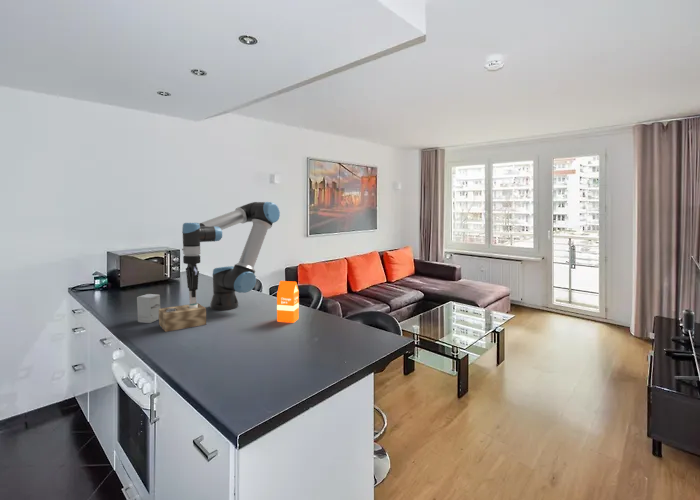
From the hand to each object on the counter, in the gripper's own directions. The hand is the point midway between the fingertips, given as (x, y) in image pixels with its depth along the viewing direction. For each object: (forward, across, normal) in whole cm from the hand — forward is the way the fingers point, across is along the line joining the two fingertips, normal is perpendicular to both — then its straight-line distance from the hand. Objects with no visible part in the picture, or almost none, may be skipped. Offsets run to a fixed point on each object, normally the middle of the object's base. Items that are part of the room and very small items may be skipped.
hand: (192, 303), depth 177 cm
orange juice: (+10, +23, +39) cm, 46 cm away
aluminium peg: (+10, 0, -10) cm, 14 cm away
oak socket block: (+10, 0, -5) cm, 11 cm away
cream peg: (+9, 0, 0) cm, 9 cm away
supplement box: (+10, -17, -16) cm, 25 cm away
